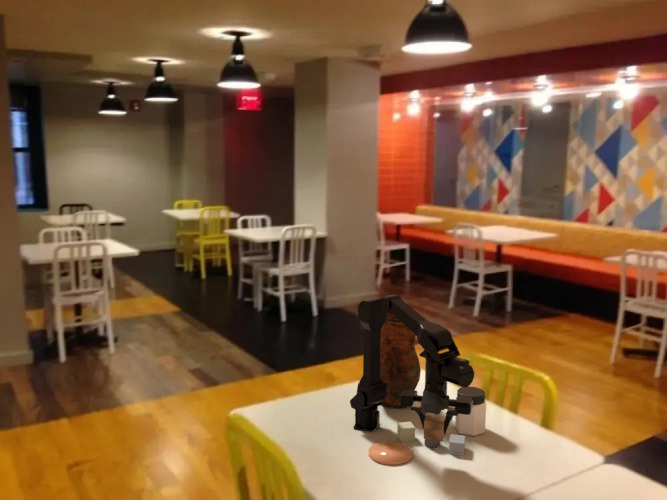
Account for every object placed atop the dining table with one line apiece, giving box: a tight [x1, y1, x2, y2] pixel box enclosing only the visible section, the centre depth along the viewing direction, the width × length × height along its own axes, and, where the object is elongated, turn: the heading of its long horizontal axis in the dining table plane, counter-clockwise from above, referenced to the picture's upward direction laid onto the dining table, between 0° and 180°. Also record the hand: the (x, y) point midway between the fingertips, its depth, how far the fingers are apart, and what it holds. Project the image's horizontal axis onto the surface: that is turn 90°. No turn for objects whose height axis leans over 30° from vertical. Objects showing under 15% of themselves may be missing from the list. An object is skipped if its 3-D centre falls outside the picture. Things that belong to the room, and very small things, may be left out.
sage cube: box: [396, 421, 416, 443], centre depth 181 cm, size 4×4×4 cm
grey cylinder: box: [424, 439, 441, 450], centre depth 177 cm, size 4×4×4 cm
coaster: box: [368, 440, 413, 466], centre depth 172 cm, size 12×12×1 cm
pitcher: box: [358, 312, 422, 410], centre depth 205 cm, size 17×21×30 cm
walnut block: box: [423, 413, 446, 442], centre depth 167 cm, size 5×5×5 cm
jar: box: [454, 386, 487, 437], centre depth 186 cm, size 9×8×12 cm
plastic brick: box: [448, 433, 466, 456], centre depth 174 cm, size 4×5×4 cm
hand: (434, 432), depth 167 cm, fingers closed on walnut block, 5 cm apart
